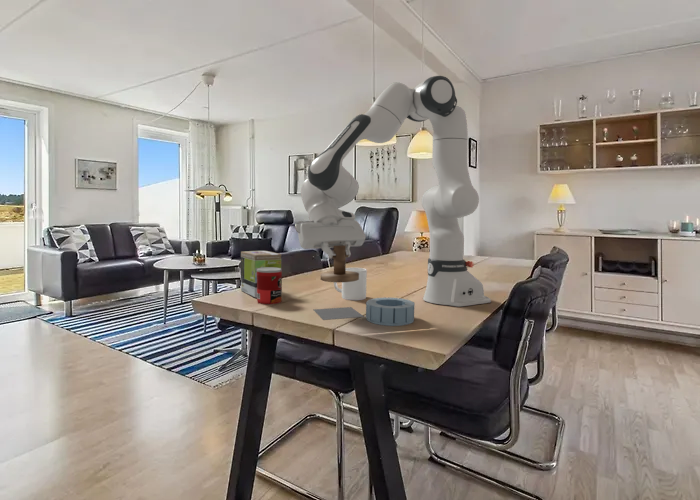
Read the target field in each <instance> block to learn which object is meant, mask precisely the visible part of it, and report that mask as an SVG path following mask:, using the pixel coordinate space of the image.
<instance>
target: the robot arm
mask: <svg viewBox="0 0 700 500" xmlns="http://www.w3.org/2000/svg"><path fill="white" fill-rule="evenodd" d="M466 115H467V114H466V111H465V110H464V108H462V107H461V106H460V105H459V106H458V99H457V97H456V90H455V88H454V85H453V83H452V81H451V80H450V79H449V78H448V77H446V76H444V75H435V76H431V77H428V78H426V79H425V80H424V81H421V82H420V83H418V84H417V85H415V87H413V88H410V87H408V86H407V85H406V84H404V83H402V82H393V83H390V84H388V85H387V87H385V88H384V89H383V91H382V92H381V93H380V94H379V95H378V96H377V98H376V99H375V100H374V101H373V103H372V105H371V106H370V108H369V109H368V110H367V111H365V113H363V114H362V113H361V114H359V115H356V116H355V117H353V118H352V119H351V120H350V121H349V122H348V123H347V124H346V125H345V127H343V129H342V130H341V131H340V132H339V133H338V135H337V136H336V137H335V138H334V139H333V140H332V141H331V143H329V144H328V146H327V147H326V148H325V149H324V150H323V151H322V152H321V153H319V154H318V155H317V156H315V158H313V160H312V161H311V162H310V164H309V166H308V171H307V179H305V180H304V181H303V182H302V185H301V187H300V195H301V200H302V203H303V206H304V209H305V211H306V212H307V213H308V219H309V220H306V221H304V220H301V221H300V220H299V221H298V222H296V223H295V225H294V227H295V230H296V232H297V234H298V235H297V236H298V240H299V246H300V247H301V248H303V249H304V250H311V249H312V250H313V249H321V250H322V251H323V253H325V254H326V255H327V256H328V258H329V259H334V258H335V257H336V253H335V251H334V246H337V245H343V246H345V248H346V258H350V257H351V255H352V254H351V250H350V248H351V247H362V246H363V244H364V243H365V240H366V236H367V235H366V233H365V232H364V230H363V227H362V226H361V224H360V223H359V222H358V221H357V220H355V219H356V216H355V214H354V213H352V212H349V211H345V210H341V209H340V208H342V207H344V206H346V205H348V204H349V203H351V202H352V201H353V200H354V199H355V198H356V196H357V195H358V193H359V188H360V187H359V182H358V181H357V179H356V178H355V177H354V176H353V175H352V174H351V172H349V171H348V170H347V169H346V167H344V166H343V161H344V159H345V158H346V157H347V156H348V155H349V153H351V151H352V150H353V149H354V148H355V146H357V144H358V143H359V142H361V141H363V140H367V141H369V142H372V143H376V144H383V143H387V142H389V141H391V140H392V139H393V138H394V137H395V136H396V134H397V133H398V131H399V129H400V128H401V127H402V125H403V123H404V122H405V120H406V119H408V120H410V121H412V122H415V123H420V122H425V121H427V120H429V121H430V123H431V126H432V130H433V131H432V153H431V154H432V155H431V157H432V162H431V165H432V168H433V169H434V170H435V173H436V176H437V181H438V184H436V185H433V186H432V187H430V188H428V189H427V190H426V191H424V193H423V194H422V196H421V206H422V208H423V210H424V211H425V214H426V215H425V216H426V221H427V225H428V231H429V233H428V234H429V255H428V259H427V281H426V288H425V291H424V294H423V298H422V300H423V301H425V302H427V303H431V304H437V305H444V306H452V307H457V308H458V307H467V306H468V307H469V306H474V305H480V304H481V305H482V304H487V303H488V304H489V303H491V302H492V300H491V298H490V297H489V296H486V295H485V289H484V286H483V283H482V282H481V281H480V280H479V279H478V278H477V277H476V276H474V275H473V274H472V273H471V272H470V271H469V270H468V268H473V267H474V265H475V263H474V262H473V261H471V260H467V261H466V260H465V259H464V250H465V249H464V247H465V245H464V243H465V236H464V233H463V232H462V230H461V229H460V225H459V220H458V219H460V218H464V217H468V216H470V215H471V214H473V213H474V212H475V211H476V210H477V209H478V206H479V203H480V197H479V193H478V191H477V190H476V189H475V188H474V186H473V184H472V181H471V178H470V173H469V167H468V139H469V138H468V137H469V136H468V122H467V116H466ZM331 248H332V249H331Z"/></svg>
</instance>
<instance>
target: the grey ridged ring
mask: <svg viewBox="0 0 700 500" xmlns="http://www.w3.org/2000/svg"><path fill="white" fill-rule="evenodd" d="M415 304H416V303H415V302H414V301H412V300H410V299H405V298H399V297H385V296H384V297H376V298H370V299H368V300H367V301H366V302H365V318H366V321H368V322H369V323H371V324H374V325H379V326H389V327H398V326H400V327H401V326H407V325H410V324H412V323H414V322H415V321H414V320H415V307H416V306H415Z"/></svg>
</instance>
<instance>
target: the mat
mask: <svg viewBox="0 0 700 500" xmlns="http://www.w3.org/2000/svg"><path fill="white" fill-rule="evenodd" d="M313 312H314V313H316V314H317V315H318V317H320V319H321V320H323V321H328V320H340V319H342V320H344V319H355V318H365V316H364V315H363V314H361V313H360V312H359V311H357V310H355V308H353V307H351V306H347V307H345V306H344V307H332V308H330V307H329V308H318V309H317V308H315V309H313Z"/></svg>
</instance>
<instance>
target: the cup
mask: <svg viewBox="0 0 700 500" xmlns="http://www.w3.org/2000/svg"><path fill="white" fill-rule="evenodd" d="M346 271H353V272H357V273H359V280H357V281H352V282H341V288H340V287H339V286H338V282H333V287H334V289H335V290H336V291H337V292H339V293H340V294H341V298H342V299H343V300H346V301H362V300H366V298H367V275H368V271H367V269H366V268H363V267H346Z"/></svg>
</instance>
